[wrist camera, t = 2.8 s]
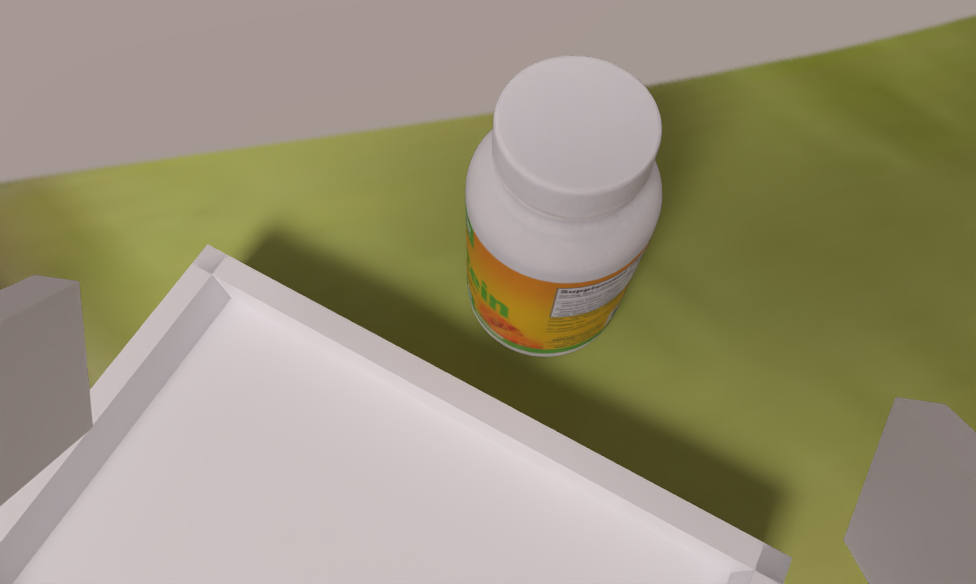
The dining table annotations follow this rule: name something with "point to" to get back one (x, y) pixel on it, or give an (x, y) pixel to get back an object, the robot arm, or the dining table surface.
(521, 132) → the supplement bottle
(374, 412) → the white tray
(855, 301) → the dining table surface
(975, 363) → the dining table surface
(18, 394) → the robot arm
